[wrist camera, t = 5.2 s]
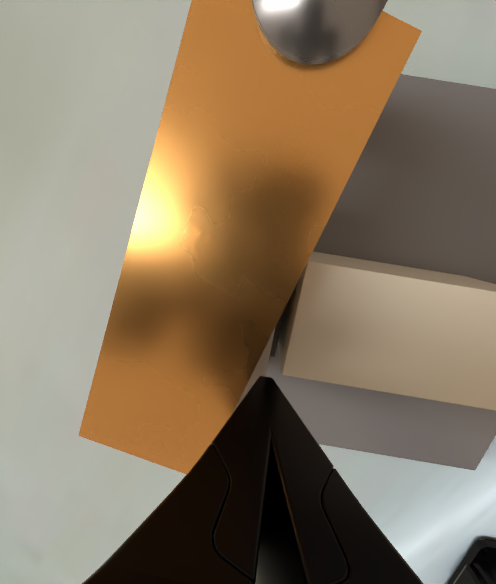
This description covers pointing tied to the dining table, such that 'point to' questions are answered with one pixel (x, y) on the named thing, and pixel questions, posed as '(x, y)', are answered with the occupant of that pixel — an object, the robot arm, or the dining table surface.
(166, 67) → the dining table surface
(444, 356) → the plug
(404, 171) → the grey piece
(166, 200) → the copper metal plate
